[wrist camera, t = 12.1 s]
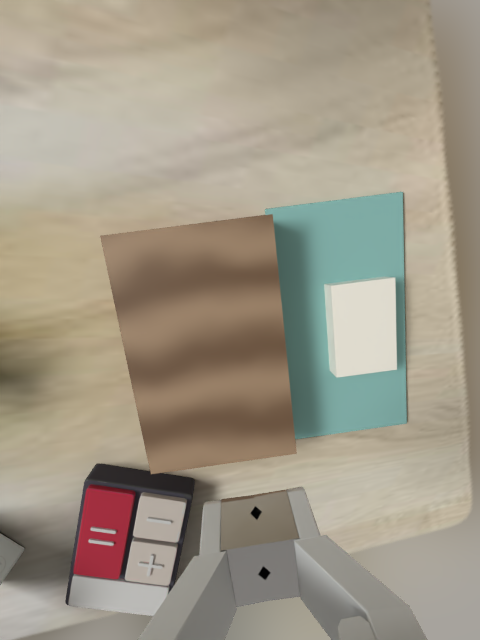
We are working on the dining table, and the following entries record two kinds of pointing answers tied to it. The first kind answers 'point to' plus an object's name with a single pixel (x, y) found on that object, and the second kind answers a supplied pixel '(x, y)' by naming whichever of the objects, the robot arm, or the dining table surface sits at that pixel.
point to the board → (204, 341)
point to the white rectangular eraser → (361, 326)
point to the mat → (310, 312)
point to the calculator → (128, 539)
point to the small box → (8, 555)
